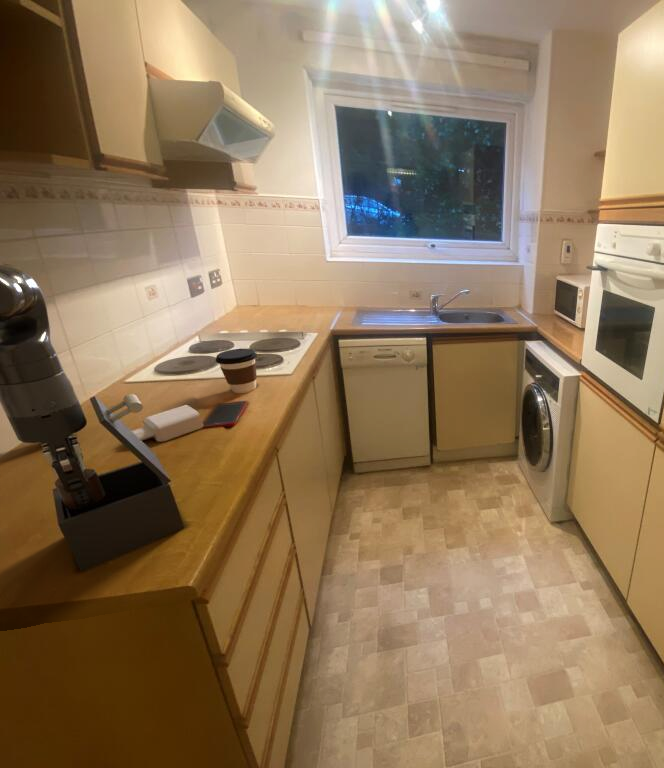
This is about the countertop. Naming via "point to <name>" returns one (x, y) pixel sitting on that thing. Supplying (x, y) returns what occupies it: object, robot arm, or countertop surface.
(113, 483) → the open grey storage box
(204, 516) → the countertop surface
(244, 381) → the coffee cup
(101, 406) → the lid
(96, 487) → the coffee pod
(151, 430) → the charger
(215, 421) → the cell phone
